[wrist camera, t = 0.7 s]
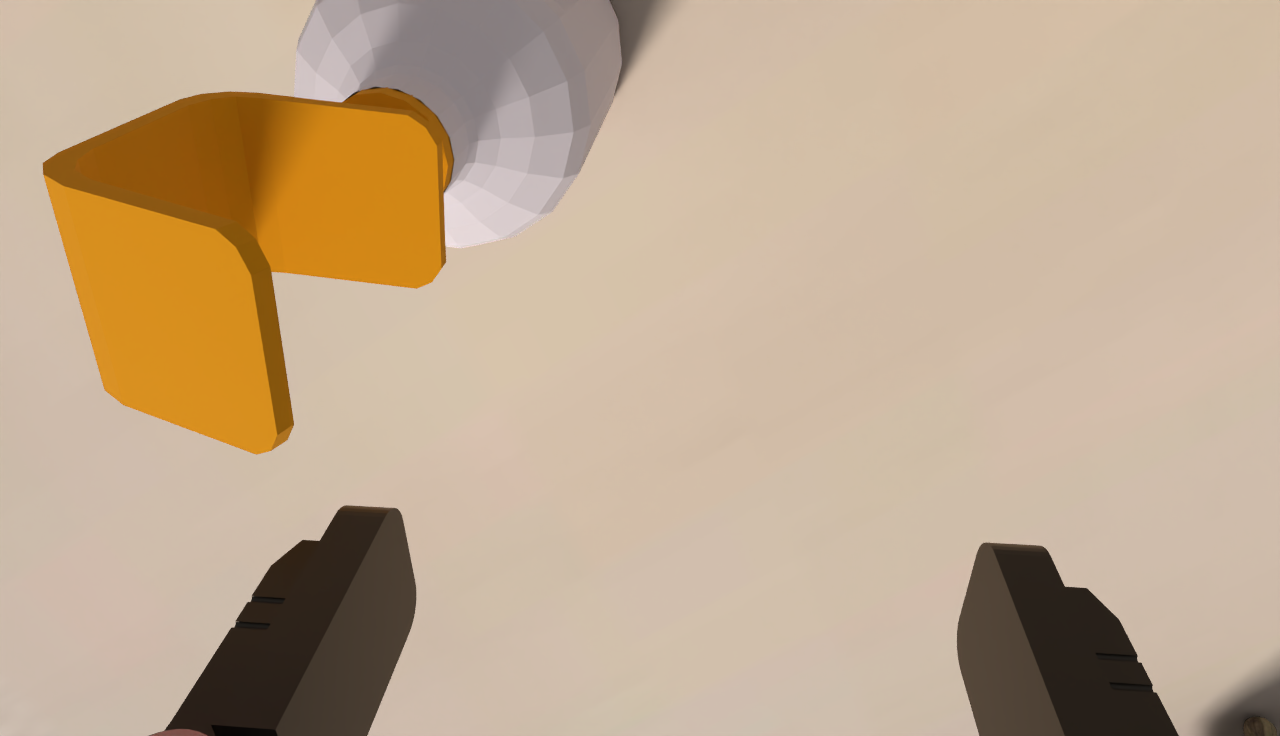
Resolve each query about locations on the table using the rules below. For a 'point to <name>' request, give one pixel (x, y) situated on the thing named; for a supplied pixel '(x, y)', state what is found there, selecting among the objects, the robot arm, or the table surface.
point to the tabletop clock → (1259, 727)
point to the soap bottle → (321, 189)
